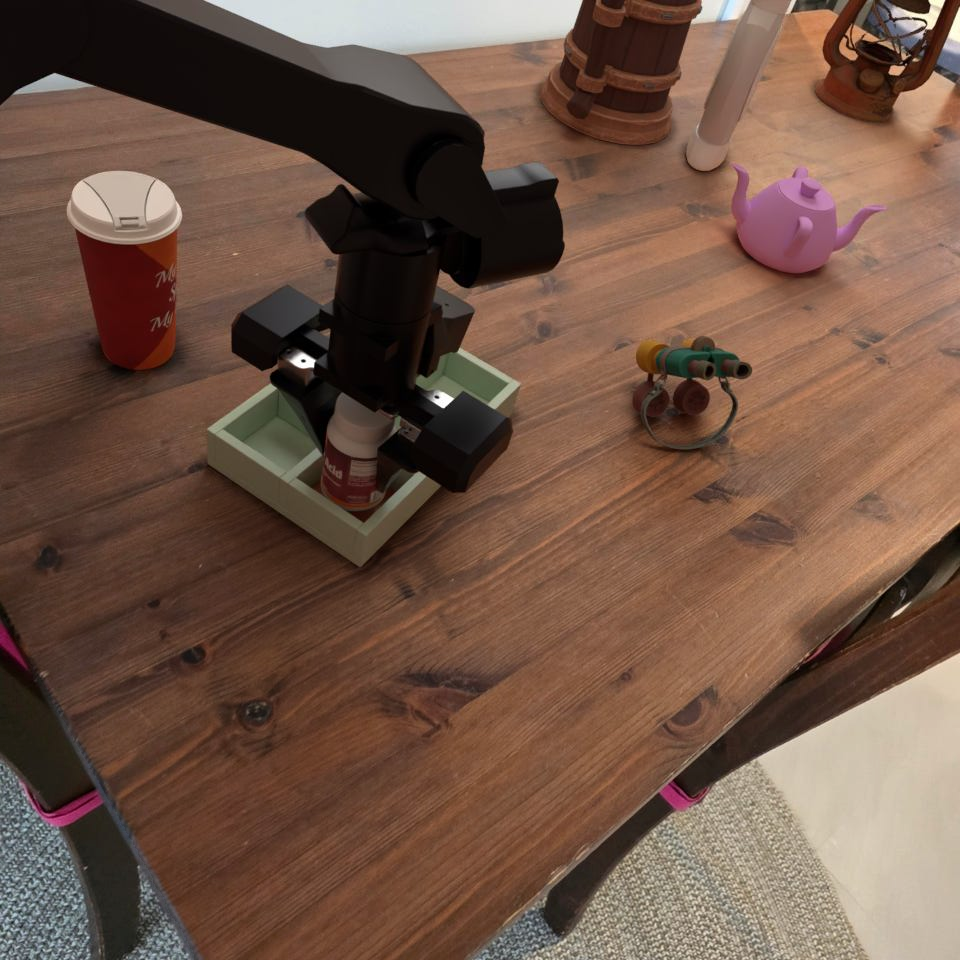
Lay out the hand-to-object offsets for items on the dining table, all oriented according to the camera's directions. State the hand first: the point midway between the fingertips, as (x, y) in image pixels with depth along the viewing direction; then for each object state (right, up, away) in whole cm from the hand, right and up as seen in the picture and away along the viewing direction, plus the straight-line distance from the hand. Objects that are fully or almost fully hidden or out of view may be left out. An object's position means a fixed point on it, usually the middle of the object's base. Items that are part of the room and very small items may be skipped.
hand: (355, 470), depth 63 cm
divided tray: (0, +3, +8) cm, 9 cm away
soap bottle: (+40, +42, +54) cm, 79 cm away
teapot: (+44, +27, +42) cm, 66 cm away
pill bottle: (0, -1, +2) cm, 2 cm away
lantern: (+68, +59, +78) cm, 119 cm away
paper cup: (-19, +10, +10) cm, 24 cm away
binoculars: (+26, +5, +18) cm, 32 cm away
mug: (+25, +48, +56) cm, 78 cm away
